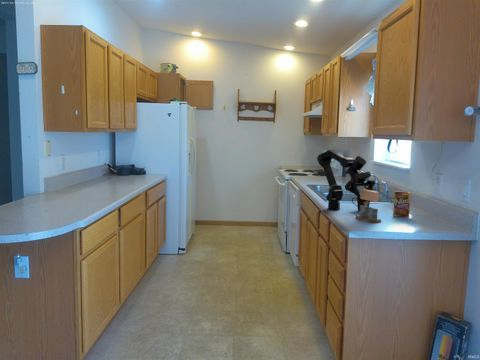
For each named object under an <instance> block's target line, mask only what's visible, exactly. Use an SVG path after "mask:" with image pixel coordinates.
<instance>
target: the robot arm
mask: <svg viewBox="0 0 480 360" xmlns="http://www.w3.org/2000/svg"><path fill="white" fill-rule="evenodd" d="M316 159H317V160H316V161H317V162H318V164H319V165H320V166H321V168H323V172H324V175H325V178H326V181H327V184H328V186H329V188H328V193H327V195H326V196H325V198H326V200H327V201H328V203H327V205H328V206H327V208H326V210H328V211H329V210H331V211H338V210H339V211H340V209H341V202H340V201H342V199H343V196H344V190H343V187H342V185H340V184H338V183H337V180H336V178H335V175H334V173H333V170H332V166H331V163H332V160H335V161H336V162H338V163H339V165H340V166H341V167H342V168H345V169H346V170H345V175H349V177H350V179H349V180H348V182H346V183H345V185H344V189H345V191H347V192H350V193H352V194H353V195H355V196H356V197H357V196H358V197H361V196H360V194H361V192H360V191H359V189H358V187H360V188H361V187H363V188H364V189H366V190H371V191H374V190H373V187H374V186H375V185H376V184H377V183H376V181H375V180H374V179H370V178H371V177H372V173H371V172H370V171H366V172H364V171H363V172H361V173H360V171H362V169H363V168H364V167H365V165H366V164H367V161H366V159H365V158H363V157H361V156H360V155H357V156H356V157H355V159H354V158H352V157H347V156H345V155H343V154H341V153H339V152H337V151H336V150H334V149H327V150H326V151H324V152H322V153H320V154H319V155H318V156H317V158H316ZM367 179H368V180H367Z"/></svg>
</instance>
